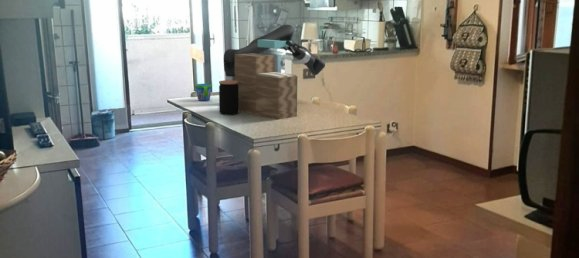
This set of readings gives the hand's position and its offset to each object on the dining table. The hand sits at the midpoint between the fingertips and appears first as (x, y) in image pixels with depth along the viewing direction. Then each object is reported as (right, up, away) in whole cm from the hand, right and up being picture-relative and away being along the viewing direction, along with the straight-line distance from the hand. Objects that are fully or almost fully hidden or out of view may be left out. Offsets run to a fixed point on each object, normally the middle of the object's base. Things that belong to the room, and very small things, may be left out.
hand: (283, 41), depth 328 cm
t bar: (-3, -3, -3) cm, 5 cm away
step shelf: (-10, -42, -12) cm, 45 cm away
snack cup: (-51, -33, +30) cm, 68 cm away
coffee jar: (-30, -43, -14) cm, 54 cm away
